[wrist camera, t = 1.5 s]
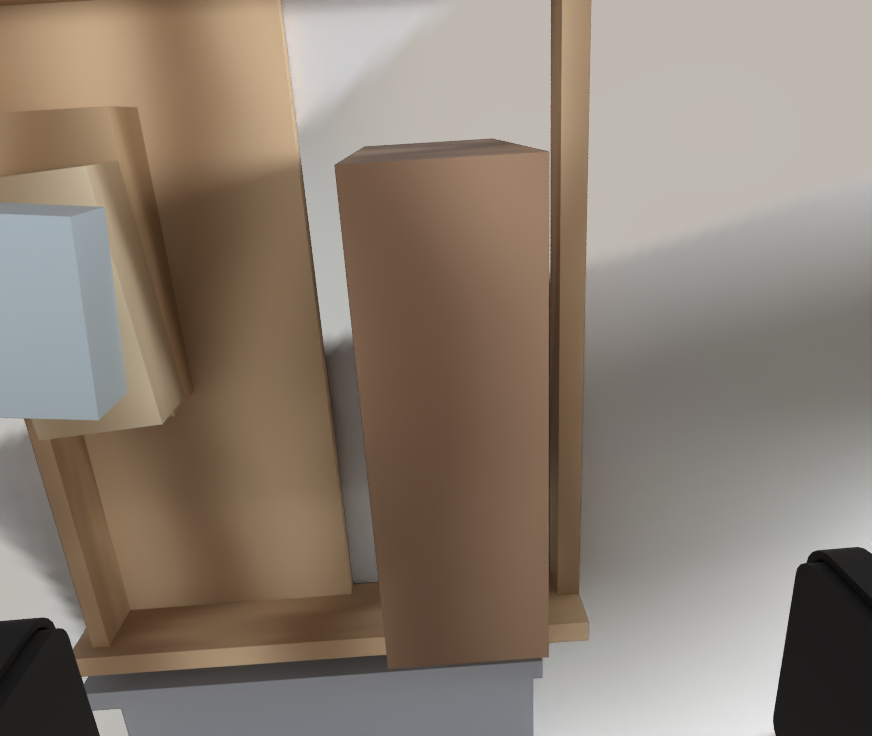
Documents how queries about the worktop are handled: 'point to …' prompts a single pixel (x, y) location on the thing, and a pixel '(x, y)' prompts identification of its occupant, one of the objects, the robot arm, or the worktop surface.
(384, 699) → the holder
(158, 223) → the offcut
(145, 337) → the offcut
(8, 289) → the offcut
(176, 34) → the tray
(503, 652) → the brown rectangular block
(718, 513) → the worktop surface
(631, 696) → the worktop surface
